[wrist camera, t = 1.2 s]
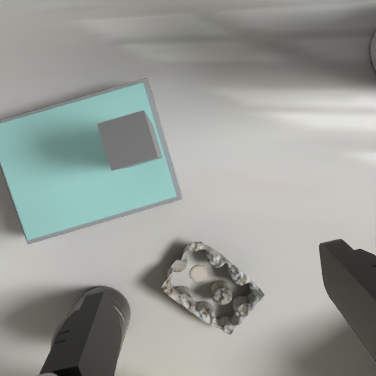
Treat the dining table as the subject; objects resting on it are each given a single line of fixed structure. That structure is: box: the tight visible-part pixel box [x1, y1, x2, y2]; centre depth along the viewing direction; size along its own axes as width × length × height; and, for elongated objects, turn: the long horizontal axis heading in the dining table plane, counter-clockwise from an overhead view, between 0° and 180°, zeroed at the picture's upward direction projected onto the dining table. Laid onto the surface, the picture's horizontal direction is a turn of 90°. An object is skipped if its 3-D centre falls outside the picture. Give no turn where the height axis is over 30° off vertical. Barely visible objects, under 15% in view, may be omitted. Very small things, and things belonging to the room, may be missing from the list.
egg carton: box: [161, 242, 264, 334], centre depth 40 cm, size 11×8×4 cm
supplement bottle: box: [51, 287, 130, 357], centre depth 35 cm, size 7×7×12 cm
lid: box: [0, 83, 177, 241], centre depth 30 cm, size 16×12×11 cm
